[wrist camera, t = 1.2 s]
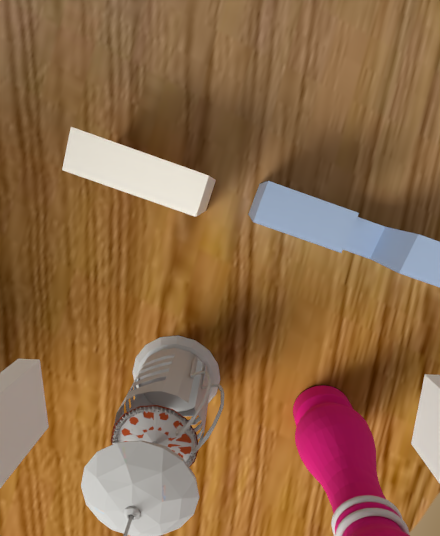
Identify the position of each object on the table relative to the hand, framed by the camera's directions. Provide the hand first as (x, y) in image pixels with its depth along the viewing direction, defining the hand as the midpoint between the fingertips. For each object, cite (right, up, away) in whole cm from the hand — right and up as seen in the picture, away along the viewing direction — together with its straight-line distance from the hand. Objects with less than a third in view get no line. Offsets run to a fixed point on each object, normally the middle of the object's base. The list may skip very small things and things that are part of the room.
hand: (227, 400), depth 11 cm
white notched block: (-6, +13, +19) cm, 24 cm away
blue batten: (+11, +8, +19) cm, 24 cm away
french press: (-4, -7, +24) cm, 25 cm away
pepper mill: (+11, -11, +24) cm, 29 cm away
